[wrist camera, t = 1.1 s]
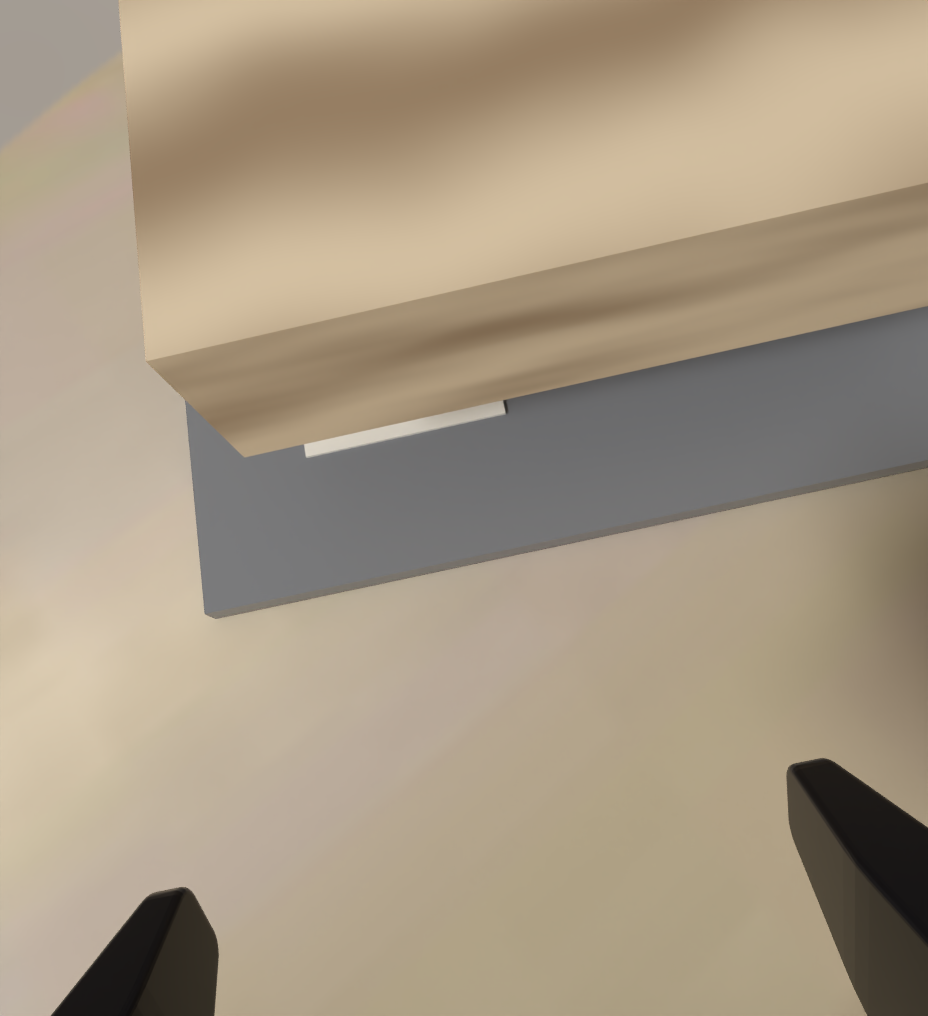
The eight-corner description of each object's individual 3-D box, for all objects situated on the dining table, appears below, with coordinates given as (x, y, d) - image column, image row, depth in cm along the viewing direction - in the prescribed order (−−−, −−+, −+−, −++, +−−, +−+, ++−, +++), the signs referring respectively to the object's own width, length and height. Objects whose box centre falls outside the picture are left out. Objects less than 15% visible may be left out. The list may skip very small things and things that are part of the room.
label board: (1120, 426, 23) (1143, 412, 22) (215, 618, 24) (202, 612, 23) (935, 43, 27) (948, 18, 26) (178, 223, 28) (165, 204, 27)
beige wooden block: (1010, 351, 23) (1338, 53, 13) (295, 508, 24) (118, 334, 14) (897, 99, 26) (1099, -298, 16) (261, 248, 27) (94, -44, 17)
